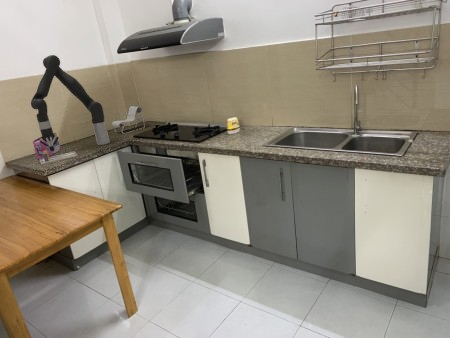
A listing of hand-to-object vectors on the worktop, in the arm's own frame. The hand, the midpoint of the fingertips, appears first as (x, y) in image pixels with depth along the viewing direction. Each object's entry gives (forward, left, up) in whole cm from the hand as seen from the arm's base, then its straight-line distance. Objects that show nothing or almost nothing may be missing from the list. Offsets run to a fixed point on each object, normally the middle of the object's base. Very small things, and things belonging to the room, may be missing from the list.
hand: (52, 151), depth 252 cm
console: (-2, +3, -5) cm, 7 cm away
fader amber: (+5, 0, -4) cm, 6 cm away
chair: (-67, -39, -6) cm, 78 cm away
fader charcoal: (+6, +7, -4) cm, 10 cm away
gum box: (+2, -18, -6) cm, 19 cm away
